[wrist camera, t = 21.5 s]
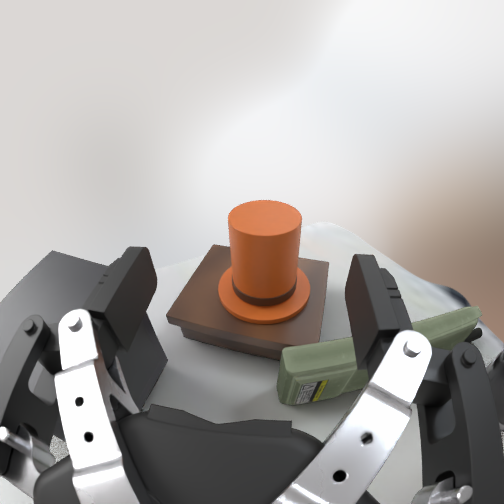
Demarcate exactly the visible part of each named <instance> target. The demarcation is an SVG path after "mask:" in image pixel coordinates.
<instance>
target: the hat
mask: <svg viewBox="0 0 504 504" xmlns="http://www.w3.org/2000/svg"><path fill="white" fill-rule="evenodd" d="M301 223H302V217H301V214H300V213H299V211H298V210H297V209H295V208H294V207H292V206H290V205H288V204H286V203H282V202H278V201H270V200H258V201H251V202H247V203H243V204H241V205H239V206H237V207H235V208H234V209H233V210H232V211H231V212H230V213H229V216H228V225H229V239H230V251H231V263H232V266H231V267H230V268H229V269H228V270H226V272H225V273H224V274H223V275H222V277H221V279H220V281H219V285H218V292H219V298H220V301H221V303H222V305H223V306H224V307H225V309H226V310H227V311H228V312H229V313H230V314H232V315H233V316H235V317H237V318H238V319H241V320H243V321H246V322H250V323H255V324H274V323H279V322H283V321H286V320H288V319H290V318H292V317H294V316H296V315H297V314H298V313H300V312H301V311H302V310H303V308H304V307H305V306H306V304H307V302H308V299H309V295H310V284H309V280H308V278H307V276H306V275H305V274H304V272H303V271H302V270H301V269H299V268H298V267H297V265H298V255H299V245H300V234H301Z"/></svg>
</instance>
